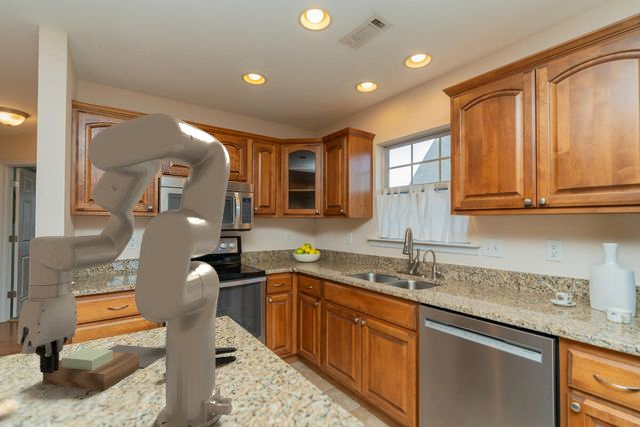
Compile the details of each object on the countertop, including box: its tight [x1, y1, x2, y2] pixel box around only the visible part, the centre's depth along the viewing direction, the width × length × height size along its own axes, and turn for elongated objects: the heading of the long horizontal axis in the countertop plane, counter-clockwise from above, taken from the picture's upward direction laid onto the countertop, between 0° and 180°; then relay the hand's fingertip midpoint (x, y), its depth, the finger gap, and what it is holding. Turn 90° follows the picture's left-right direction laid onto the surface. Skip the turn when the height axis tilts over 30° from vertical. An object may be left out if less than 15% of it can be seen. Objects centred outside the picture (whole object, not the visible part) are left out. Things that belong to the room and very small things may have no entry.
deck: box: [42, 352, 140, 392], centre depth 81 cm, size 18×11×4 cm, turn 79°
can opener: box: [215, 346, 237, 366], centre depth 86 cm, size 18×7×6 cm, turn 120°
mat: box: [107, 344, 166, 369], centre depth 93 cm, size 20×12×1 cm, turn 79°
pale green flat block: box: [61, 347, 113, 370], centre depth 80 cm, size 9×6×2 cm, turn 79°
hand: (49, 371), depth 71 cm, fingers closed
